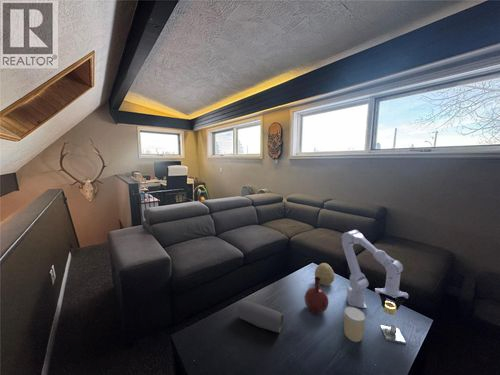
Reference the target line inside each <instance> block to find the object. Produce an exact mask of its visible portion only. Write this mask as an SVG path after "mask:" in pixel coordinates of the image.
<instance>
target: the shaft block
mask: <svg viewBox="0 0 500 375" xmlns="http://www.w3.org/2000/svg"><path fill="white" fill-rule="evenodd" d="M379 327H380V330H381V331H382V334H383V336H384V338H385V341H389V342H393V343H399V344H403V345H406V344H407V341H406V340H405V338H404V336H403V335H402V333H401V331H400V329H399V328H397V327H396V326H395V325H390V326H387V325H382V324H381V325H380V326H379Z"/></svg>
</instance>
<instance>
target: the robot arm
mask: <svg viewBox="0 0 500 375" xmlns="http://www.w3.org/2000/svg"><path fill="white" fill-rule="evenodd" d="M340 238H341V239H342V240H341V244H342V245H341V246H342V249H343V251H344V255H345V258H346V261H347V264H348V267H349V272H350V275H349V286H347V288H346V289H347V290H346V300H347V303H348V306H349V307H355V308H363V309H367V308H368V307H367V304H366V303H365V302H366V292H367V291H366V290H367V288H368V287H369V284H370V283H369V281H368V279H367V278H366V276H365V274H364V273H363V272H361V268H360V265H359V262H358V259H357V256H356V254H355V253H356V252H355V250H354V247H353V246H354V245H355V244H357V245H360V246H362V247H363V248H365V249H366V250H367V251H368V252H370V253H371V254H372V255H373V256H372V257H373V258H374V259H375V260H376V261H377V262H379V263H380V264H381V265H382V266H383V267H384V269H385V271H386V278H385V286H384V287H382V288H379V287H377V288H374V292H375V294H376V295H379V297H380V302H381V307H382V309H383V308H385V302H386V301H387V296H389V297H392V298H395V299H394V304H395V305H396V307H397V311H398V310H399V308H400V307H401V305H402V304H403V303H405V302H406V299H409V294H408V293H407V292H406V291H405V292H404V291H401V290H400V282H401V272H403V271H404V265H403V264H402V262H400V261H399V260H397V259H394V258H392V257H391V256H390V255H388V254H387V252H386V251H385V250H382V249H378V248H377V247H376V246H374V245H373V244H372V242H370V241H369V240H368V239H366V237H365V236H364V235H363V233H361V232H360V231H359V230H358V229H352V230H350V231H347V232H346V231H344V233H343V234H342V235H341V237H340ZM386 295H387V296H386Z"/></svg>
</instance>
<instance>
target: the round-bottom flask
mask: <svg viewBox="0 0 500 375" xmlns="http://www.w3.org/2000/svg"><path fill="white" fill-rule="evenodd" d="M320 285H321V284H320V278H319V277H314V286H313V287H310V288H308V289H307V290H306V291H305V293H304V304H305V306H306V308H307V309H308V310H309V311H310V312H312V313H314V314H323V313H324V312H326V311H327V310H328V308H329V304H330V303H329V302H330V301H329V297H328V295H327V293H326V292H325V291H324V290H323V289H322V288H320Z"/></svg>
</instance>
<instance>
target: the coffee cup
mask: <svg viewBox="0 0 500 375" xmlns="http://www.w3.org/2000/svg"><path fill="white" fill-rule="evenodd" d="M343 313H344V316H343V317H344V318H343V322H344V323H343V328H344V335H345V336H346V338H347V339H348V340H350V341H352V342H355V343H357V342H361V341H362V338H363V335H364V328H365V323H366V319H367V318H366V315H365V314H364V312H363V311H362V310H361V309H358V307H356V306H347V307H345V309H344V310H343Z"/></svg>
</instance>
